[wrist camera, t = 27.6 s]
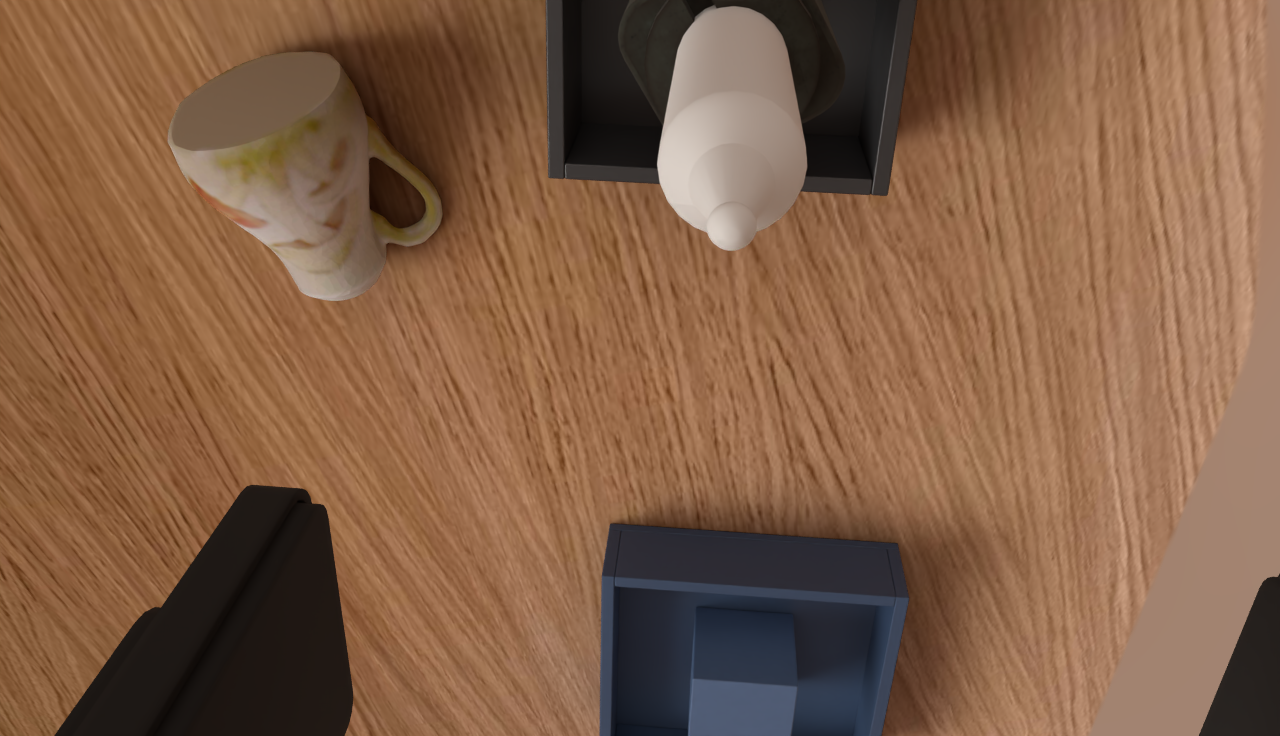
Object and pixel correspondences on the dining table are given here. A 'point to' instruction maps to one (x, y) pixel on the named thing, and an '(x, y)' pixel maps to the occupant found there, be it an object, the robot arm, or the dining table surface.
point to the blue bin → (750, 581)
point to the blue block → (742, 674)
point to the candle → (732, 103)
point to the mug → (297, 168)
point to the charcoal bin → (631, 131)
